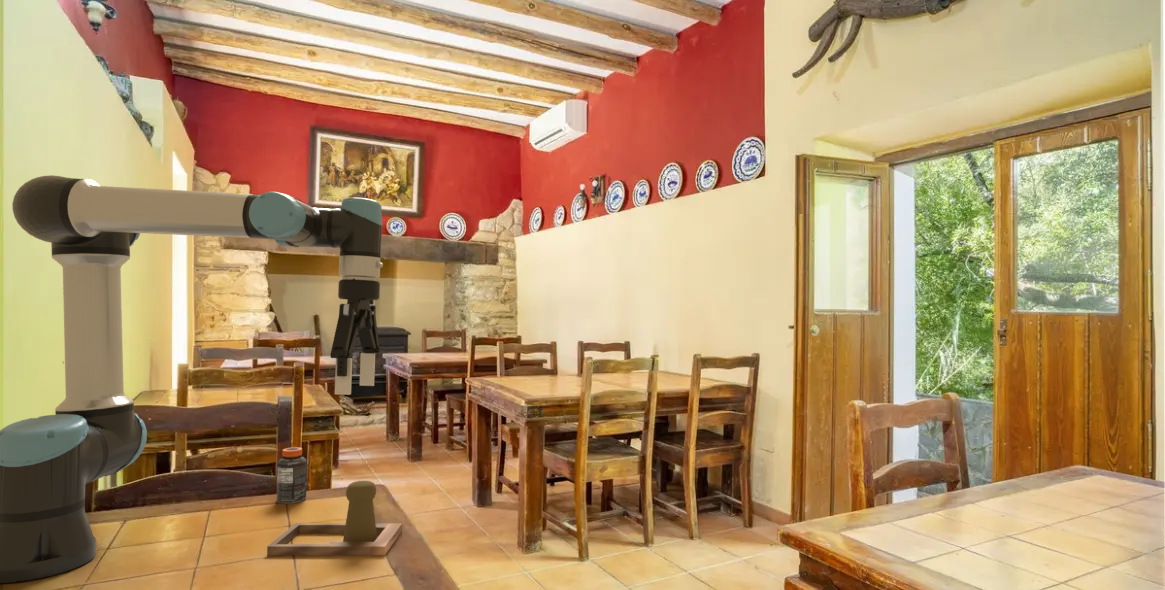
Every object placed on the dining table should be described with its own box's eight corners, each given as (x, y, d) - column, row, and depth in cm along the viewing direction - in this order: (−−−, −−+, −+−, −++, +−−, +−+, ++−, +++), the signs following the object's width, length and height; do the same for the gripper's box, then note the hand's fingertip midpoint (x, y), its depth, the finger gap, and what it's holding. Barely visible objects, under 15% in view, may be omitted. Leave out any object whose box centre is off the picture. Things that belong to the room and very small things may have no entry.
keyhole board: (267, 555, 110) (267, 546, 110) (295, 531, 122) (295, 523, 122) (384, 555, 111) (385, 546, 111) (401, 531, 123) (402, 523, 123)
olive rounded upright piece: (366, 550, 113) (367, 487, 113) (335, 547, 114) (336, 485, 114) (383, 538, 119) (385, 478, 119) (354, 535, 120) (355, 476, 120)
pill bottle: (301, 494, 146) (302, 444, 146) (309, 500, 141) (310, 449, 141) (273, 499, 142) (274, 447, 142) (280, 505, 137) (282, 452, 138)
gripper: (357, 276, 111) (352, 399, 111) (396, 282, 136) (393, 382, 136) (314, 275, 111) (309, 397, 111) (361, 281, 136) (357, 382, 135)
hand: (355, 389), depth 123 cm, fingers open, 13 cm apart
